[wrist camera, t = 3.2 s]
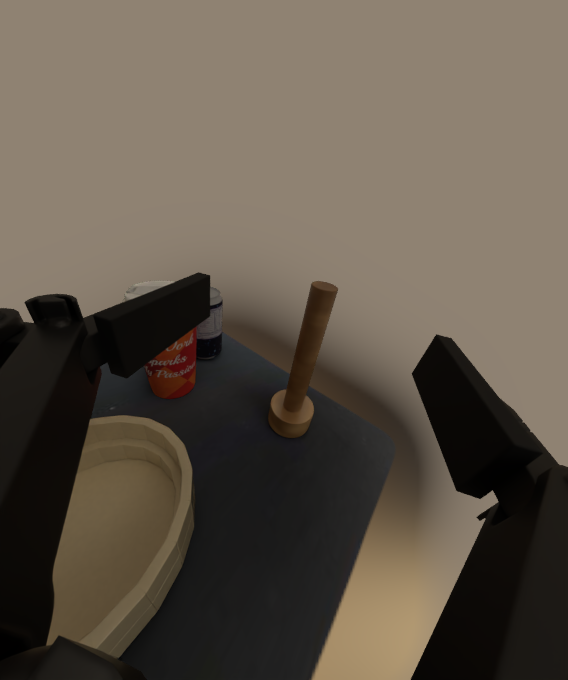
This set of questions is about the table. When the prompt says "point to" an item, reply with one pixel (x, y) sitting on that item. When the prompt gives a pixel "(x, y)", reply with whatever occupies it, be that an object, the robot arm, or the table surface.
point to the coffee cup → (169, 355)
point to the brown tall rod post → (303, 365)
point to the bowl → (122, 532)
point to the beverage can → (210, 329)
